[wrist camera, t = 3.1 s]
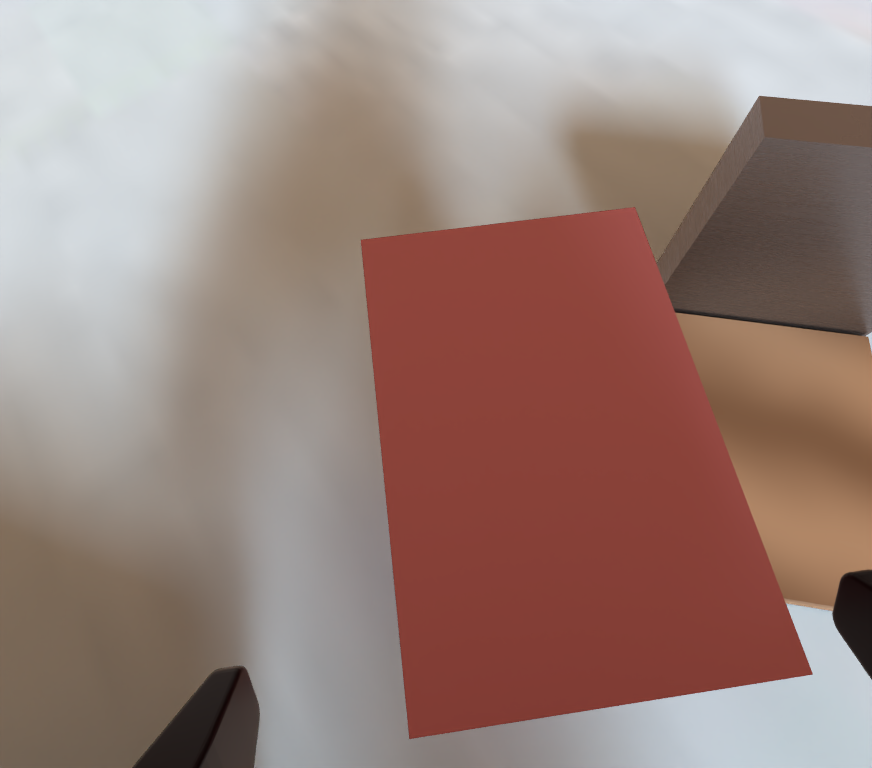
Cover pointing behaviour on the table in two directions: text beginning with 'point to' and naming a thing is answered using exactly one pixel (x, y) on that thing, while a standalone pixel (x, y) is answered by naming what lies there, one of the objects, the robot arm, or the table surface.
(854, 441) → the tan flat rectangular slab
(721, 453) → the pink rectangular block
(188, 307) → the table surface
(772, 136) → the metal bookend
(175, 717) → the robot arm
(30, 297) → the table surface
